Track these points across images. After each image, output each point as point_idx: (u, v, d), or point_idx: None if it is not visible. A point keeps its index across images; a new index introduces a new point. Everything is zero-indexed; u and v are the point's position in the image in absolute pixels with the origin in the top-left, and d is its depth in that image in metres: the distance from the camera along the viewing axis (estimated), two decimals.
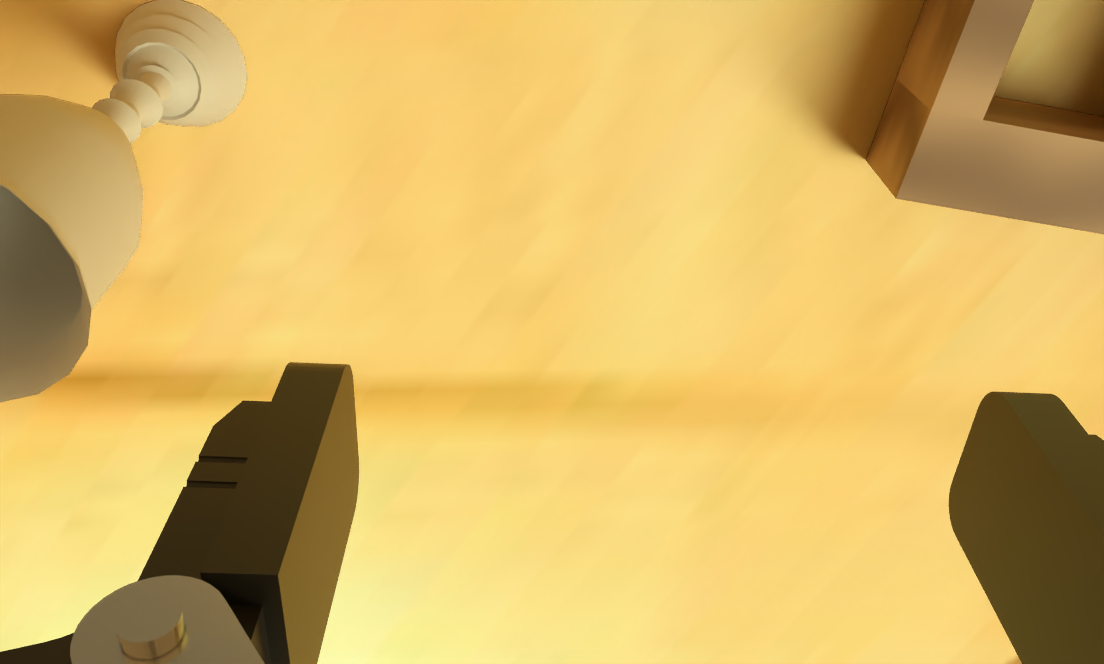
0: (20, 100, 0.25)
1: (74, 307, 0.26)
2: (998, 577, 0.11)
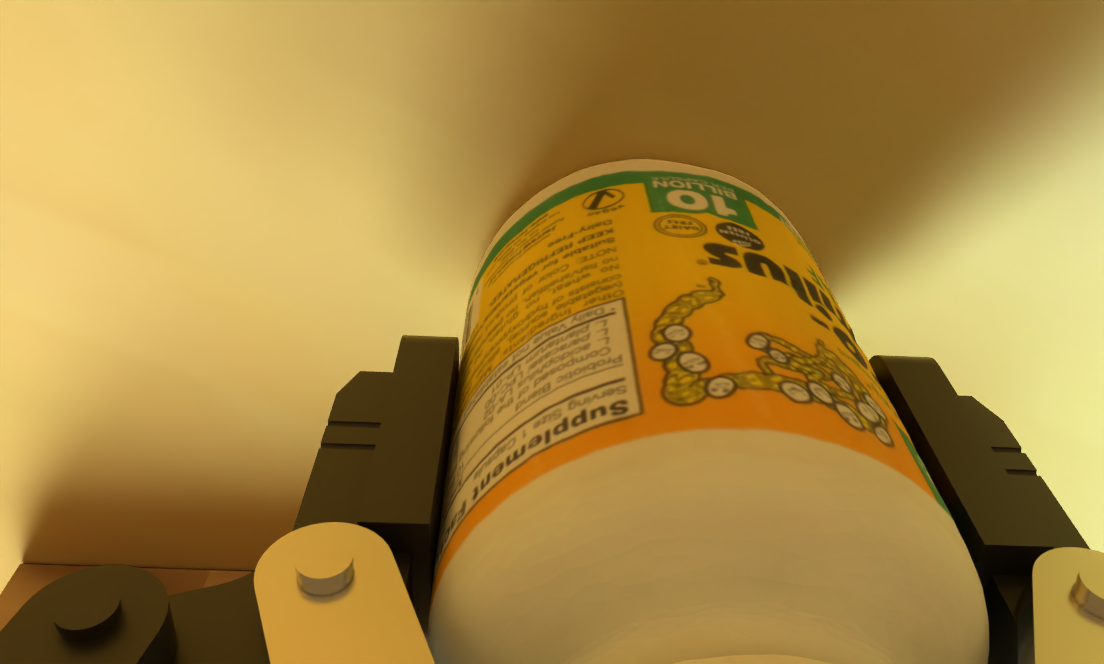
0: None
1: None
2: None
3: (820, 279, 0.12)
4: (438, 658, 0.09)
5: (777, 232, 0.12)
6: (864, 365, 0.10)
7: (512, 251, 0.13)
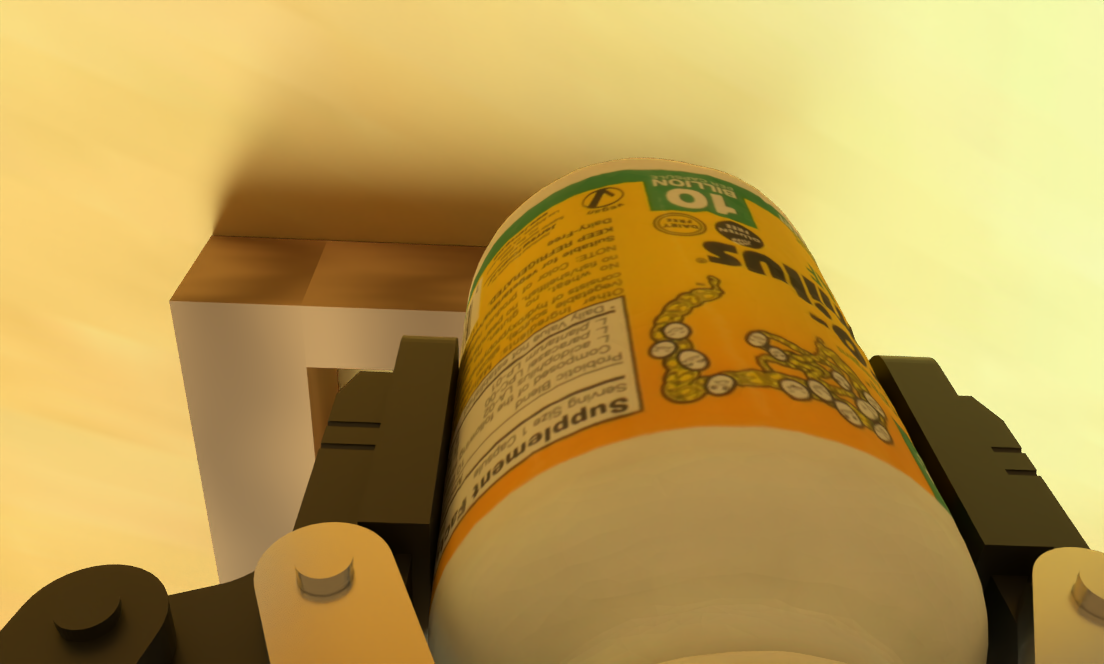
0: None
1: None
2: None
3: (819, 277, 0.12)
4: (439, 655, 0.09)
5: (776, 231, 0.12)
6: (863, 363, 0.10)
7: (512, 250, 0.13)
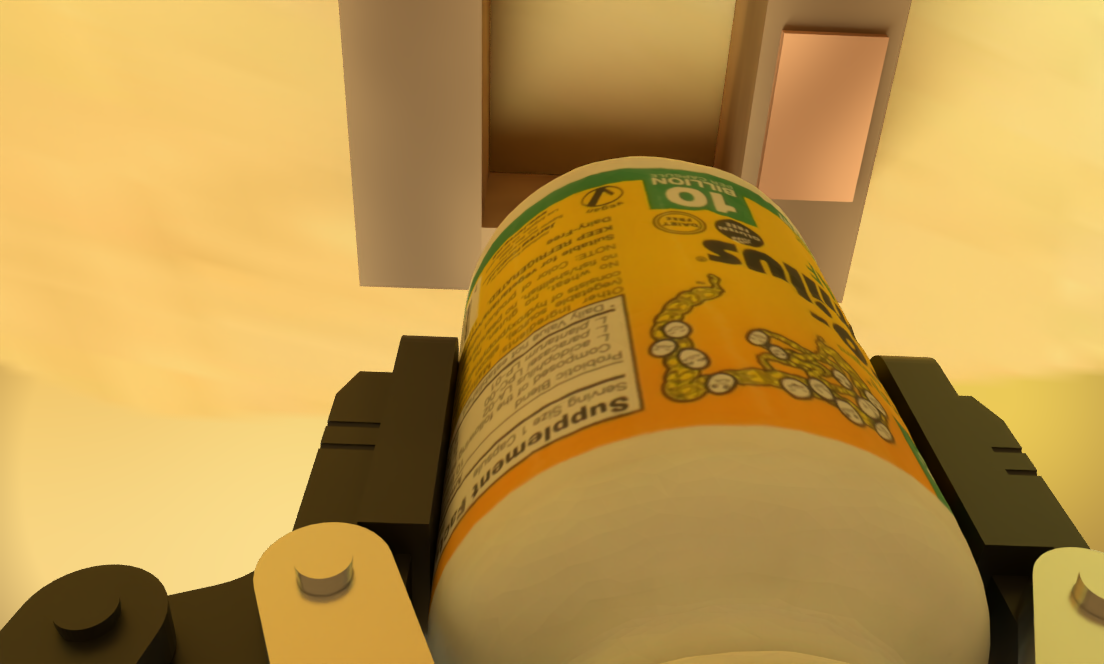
0: None
1: None
2: None
3: (819, 276, 0.12)
4: (438, 656, 0.09)
5: (776, 229, 0.12)
6: (864, 362, 0.10)
7: (511, 248, 0.13)
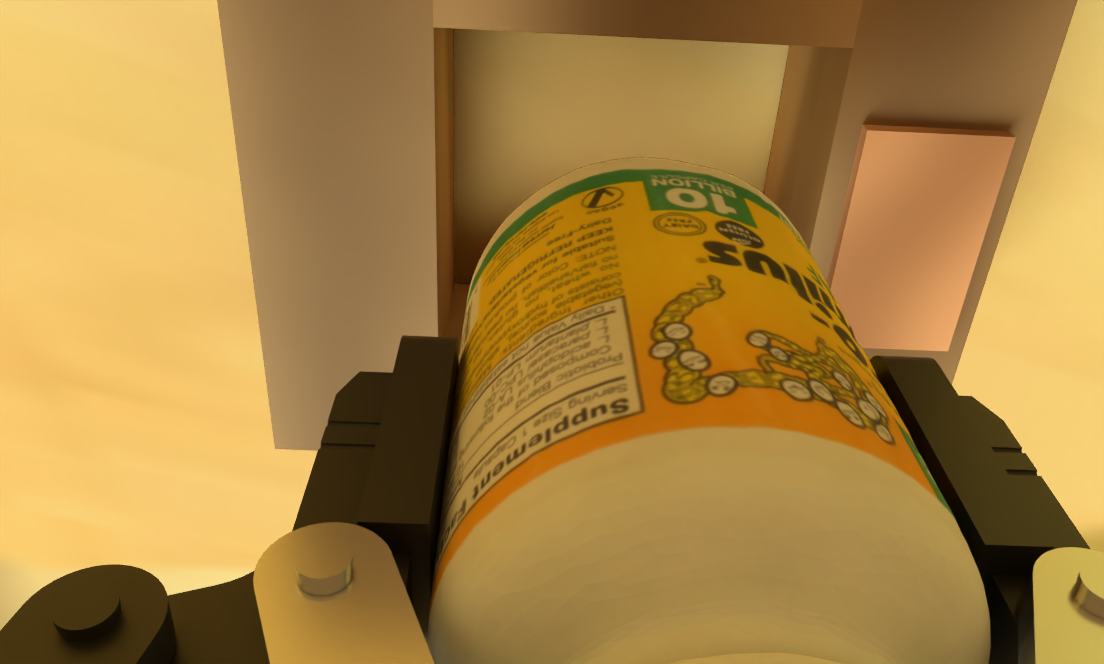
0: None
1: None
2: None
3: (819, 277, 0.12)
4: (439, 658, 0.09)
5: (776, 230, 0.12)
6: (864, 363, 0.10)
7: (511, 250, 0.13)
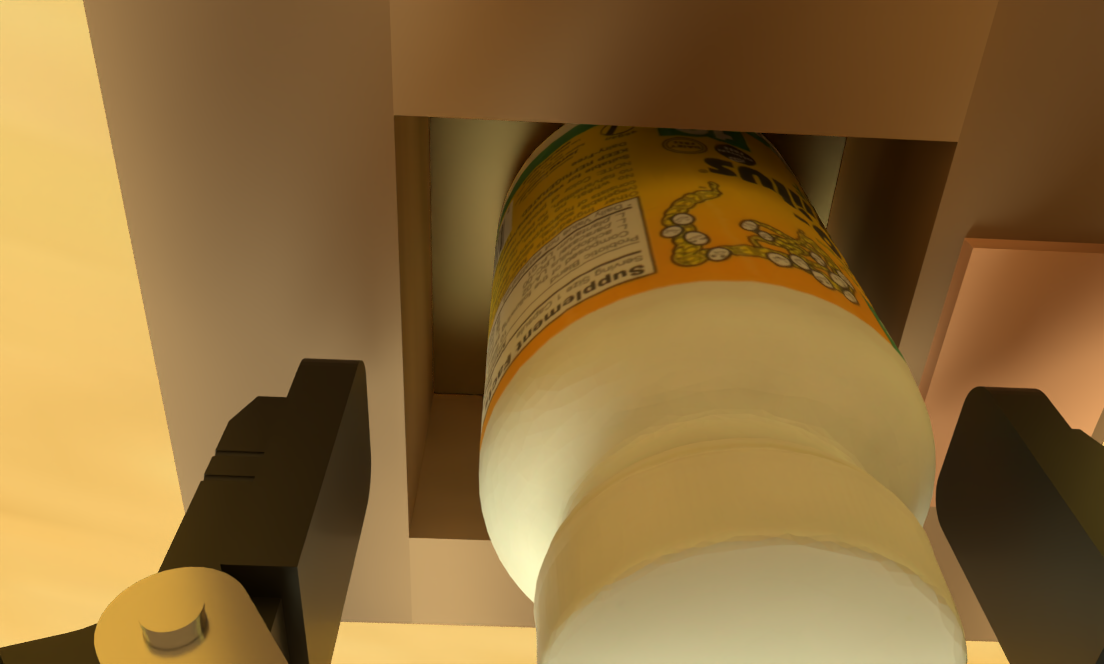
0: None
1: None
2: (983, 570, 0.11)
3: (804, 195, 0.14)
4: (490, 474, 0.11)
5: (767, 155, 0.14)
6: (838, 256, 0.12)
7: (539, 173, 0.15)
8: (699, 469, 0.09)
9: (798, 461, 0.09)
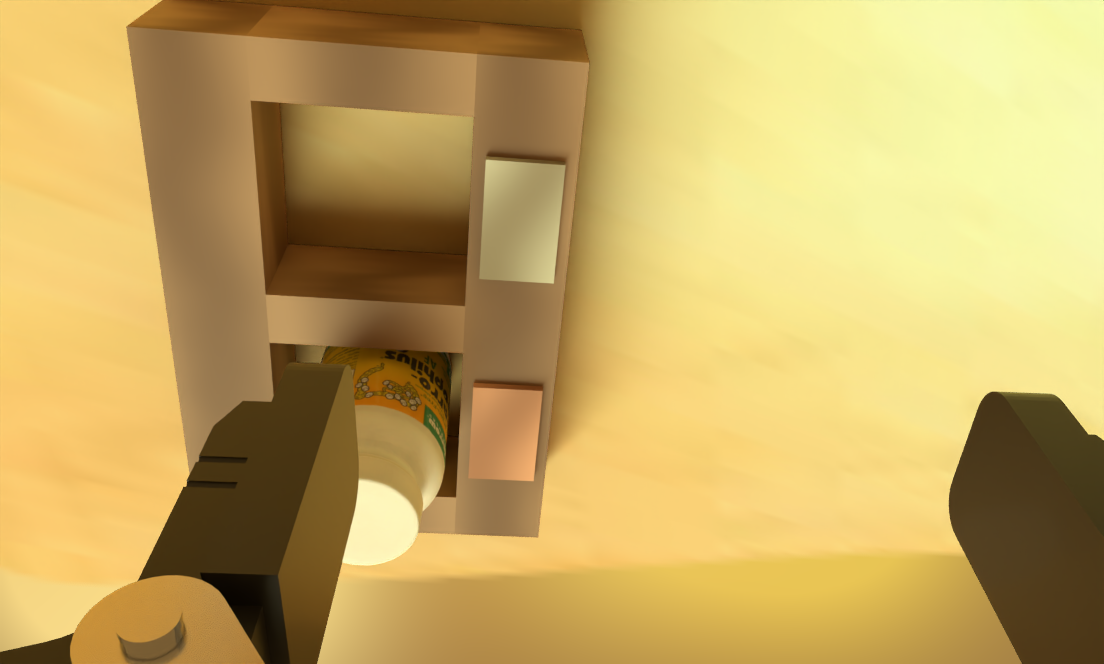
0: None
1: None
2: (998, 577, 0.11)
3: (431, 360, 0.37)
4: None
5: None
6: (427, 388, 0.36)
7: (333, 348, 0.38)
8: None
9: (371, 459, 0.32)
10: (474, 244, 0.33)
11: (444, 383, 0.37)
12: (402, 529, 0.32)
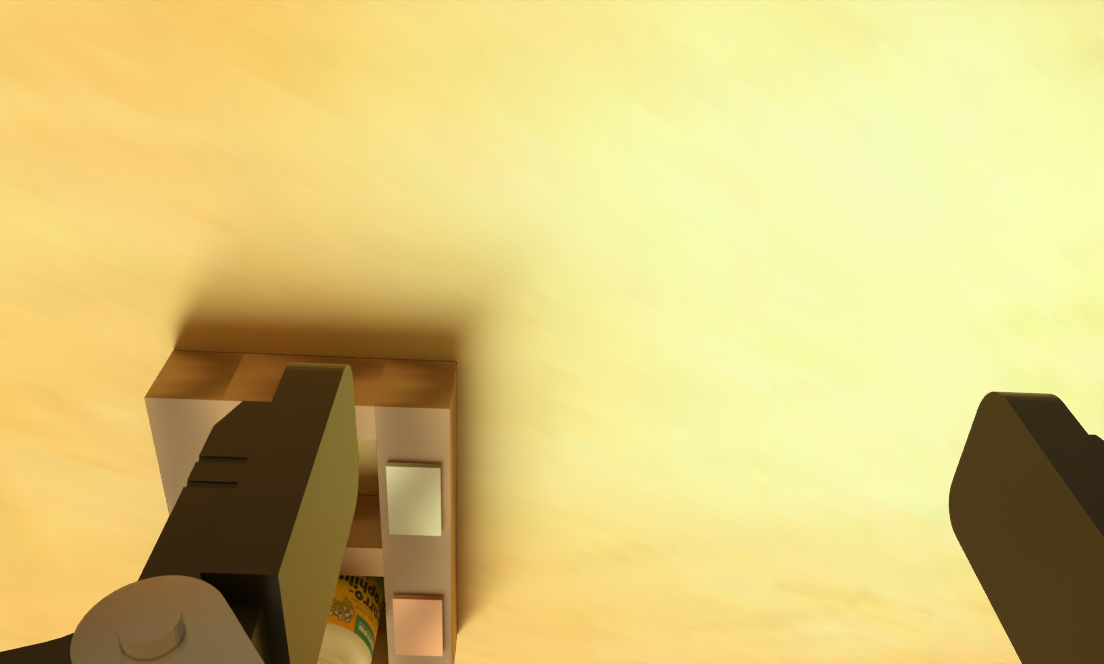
0: None
1: None
2: (998, 577, 0.11)
3: None
4: None
5: None
6: (360, 599, 0.50)
7: None
8: None
9: None
10: (384, 512, 0.48)
11: (376, 588, 0.52)
12: None
